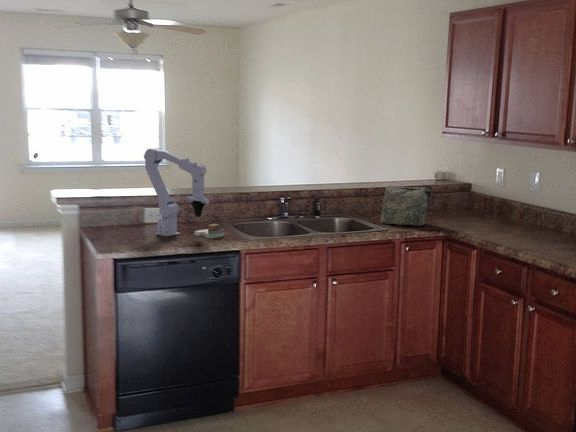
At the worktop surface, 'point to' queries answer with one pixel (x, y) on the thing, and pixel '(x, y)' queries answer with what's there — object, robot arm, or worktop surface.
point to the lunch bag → (405, 205)
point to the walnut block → (213, 227)
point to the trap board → (212, 233)
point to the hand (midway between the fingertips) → (198, 216)
